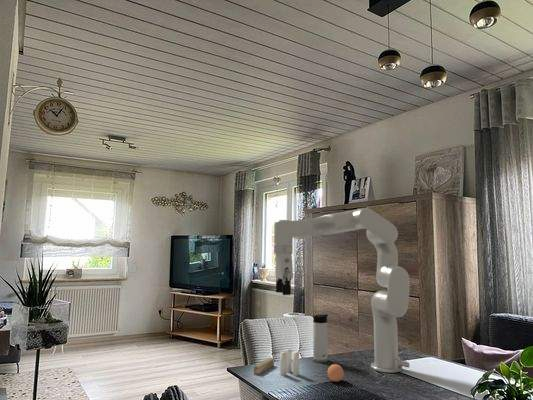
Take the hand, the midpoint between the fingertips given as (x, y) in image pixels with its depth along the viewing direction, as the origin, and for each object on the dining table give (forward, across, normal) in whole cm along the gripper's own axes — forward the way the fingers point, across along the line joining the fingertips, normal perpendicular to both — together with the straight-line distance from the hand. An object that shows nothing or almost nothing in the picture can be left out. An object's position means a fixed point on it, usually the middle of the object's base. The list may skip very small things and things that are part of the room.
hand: (283, 293), depth 158 cm
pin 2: (+31, +4, -4) cm, 32 cm away
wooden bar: (+31, +8, +5) cm, 33 cm away
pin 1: (+31, 0, 0) cm, 31 cm away
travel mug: (+31, +16, -22) cm, 42 cm away
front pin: (+31, -1, -5) cm, 32 cm away
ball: (+28, -11, -18) cm, 35 cm away
